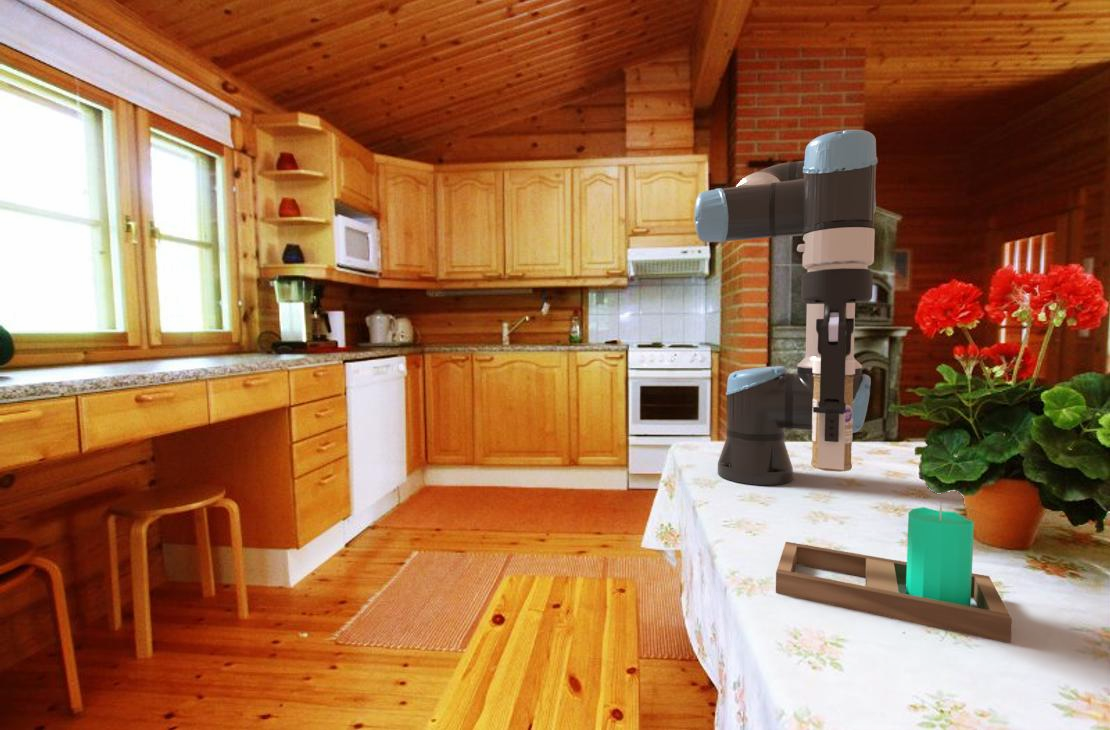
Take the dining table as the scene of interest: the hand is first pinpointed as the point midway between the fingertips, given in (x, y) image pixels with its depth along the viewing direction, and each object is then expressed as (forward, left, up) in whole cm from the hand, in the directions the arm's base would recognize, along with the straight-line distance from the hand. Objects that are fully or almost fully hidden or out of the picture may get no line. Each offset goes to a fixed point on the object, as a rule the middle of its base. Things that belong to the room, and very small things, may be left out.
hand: (831, 462), depth 65 cm
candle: (0, +11, -16) cm, 19 cm away
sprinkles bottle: (0, 0, -1) cm, 1 cm away
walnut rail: (0, +5, -15) cm, 16 cm away
